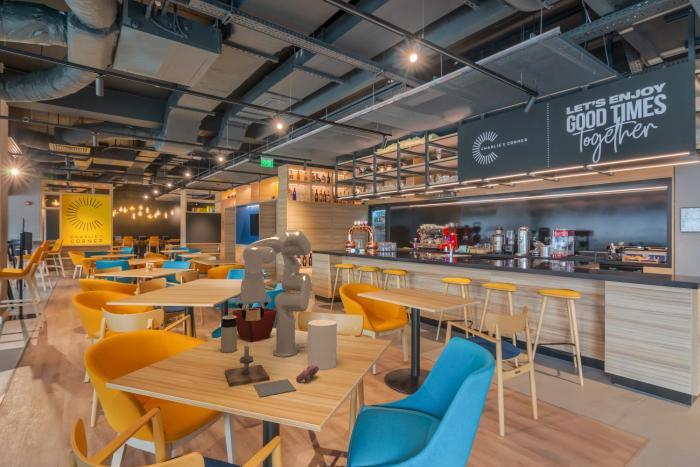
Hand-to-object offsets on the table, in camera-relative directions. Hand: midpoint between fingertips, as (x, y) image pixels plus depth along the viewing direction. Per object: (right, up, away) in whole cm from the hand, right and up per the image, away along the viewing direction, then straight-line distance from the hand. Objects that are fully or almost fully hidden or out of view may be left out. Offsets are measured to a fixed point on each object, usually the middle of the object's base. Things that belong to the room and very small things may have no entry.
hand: (252, 317), depth 151 cm
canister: (+28, -27, +17) cm, 42 cm away
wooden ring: (0, 0, 0) cm, 0 cm away
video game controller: (+24, -26, 0) cm, 35 cm away
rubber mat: (+11, -26, -10) cm, 30 cm away
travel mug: (-23, -27, +38) cm, 52 cm away
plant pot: (-16, -27, +63) cm, 70 cm away
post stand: (-3, -26, +2) cm, 26 cm away
